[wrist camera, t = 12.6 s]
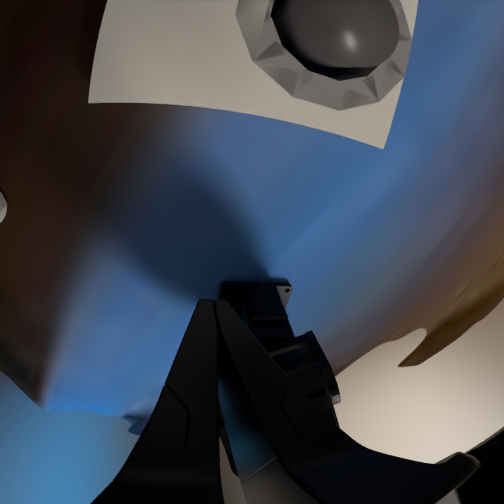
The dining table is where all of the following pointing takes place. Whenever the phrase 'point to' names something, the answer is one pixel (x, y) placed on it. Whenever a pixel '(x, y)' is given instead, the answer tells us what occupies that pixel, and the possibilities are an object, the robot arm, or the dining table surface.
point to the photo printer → (2, 207)
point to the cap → (337, 31)
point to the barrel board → (240, 66)
